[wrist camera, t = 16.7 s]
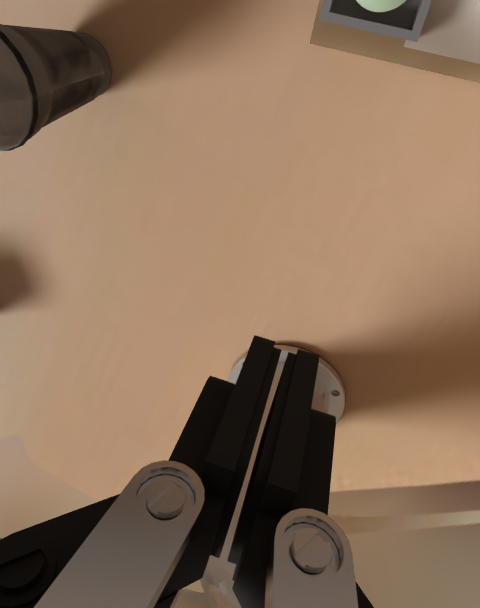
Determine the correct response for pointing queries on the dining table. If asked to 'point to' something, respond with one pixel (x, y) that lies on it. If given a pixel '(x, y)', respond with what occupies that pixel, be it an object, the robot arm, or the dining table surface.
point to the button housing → (378, 17)
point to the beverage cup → (45, 78)
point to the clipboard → (431, 43)
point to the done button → (380, 4)
